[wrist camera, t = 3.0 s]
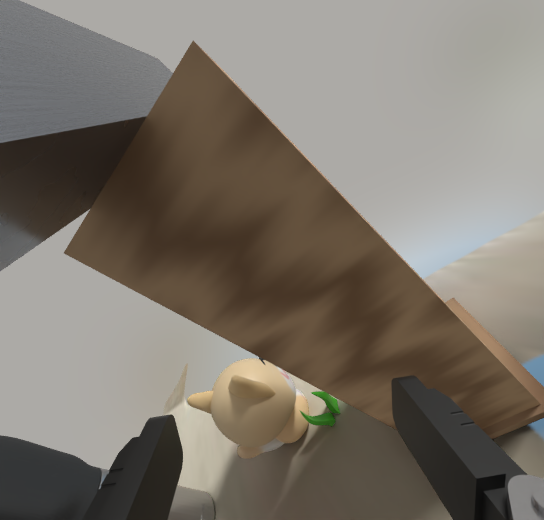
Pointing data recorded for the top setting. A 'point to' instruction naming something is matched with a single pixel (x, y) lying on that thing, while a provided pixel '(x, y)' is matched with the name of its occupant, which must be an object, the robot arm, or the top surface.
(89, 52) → the block
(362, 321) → the stand
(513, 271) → the top surface
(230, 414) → the kitten
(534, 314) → the top surface
